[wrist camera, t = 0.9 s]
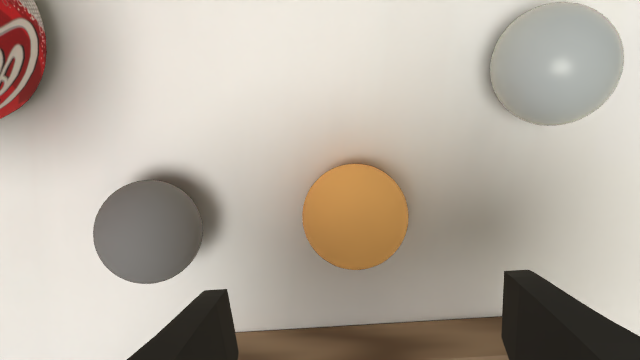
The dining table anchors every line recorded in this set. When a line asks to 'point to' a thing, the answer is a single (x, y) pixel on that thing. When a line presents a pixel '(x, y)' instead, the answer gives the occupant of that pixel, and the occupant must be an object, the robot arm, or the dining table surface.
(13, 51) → the soda can
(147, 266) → the charcoal ball
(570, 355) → the robot arm
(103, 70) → the dining table surface
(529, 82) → the slate ball
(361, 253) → the ball
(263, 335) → the brown square frame
